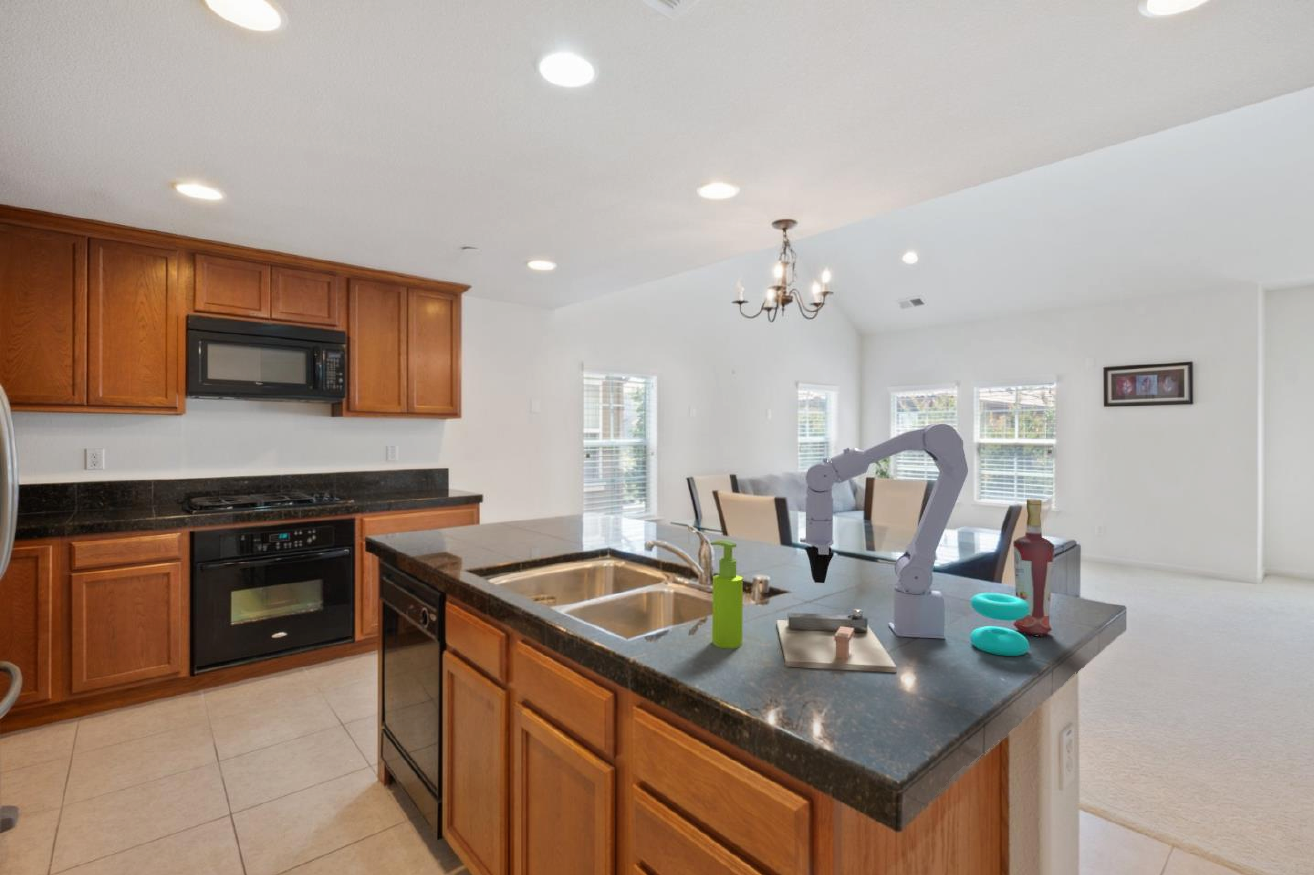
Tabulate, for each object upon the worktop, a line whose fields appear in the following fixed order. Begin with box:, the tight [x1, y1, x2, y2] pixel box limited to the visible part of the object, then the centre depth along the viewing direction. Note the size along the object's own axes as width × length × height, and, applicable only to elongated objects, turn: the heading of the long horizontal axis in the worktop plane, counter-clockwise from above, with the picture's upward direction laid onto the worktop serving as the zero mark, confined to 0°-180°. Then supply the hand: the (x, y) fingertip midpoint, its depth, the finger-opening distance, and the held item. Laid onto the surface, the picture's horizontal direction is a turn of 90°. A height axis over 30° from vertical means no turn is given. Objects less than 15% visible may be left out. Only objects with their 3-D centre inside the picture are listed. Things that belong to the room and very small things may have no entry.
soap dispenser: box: [709, 540, 744, 649], centre depth 123 cm, size 6×7×20 cm
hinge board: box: [776, 619, 897, 673], centre depth 121 cm, size 19×24×1 cm
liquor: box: [1012, 498, 1055, 637], centre depth 130 cm, size 7×7×28 cm
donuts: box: [969, 592, 1030, 657], centre depth 120 cm, size 10×10×10 cm
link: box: [787, 608, 869, 633], centre depth 128 cm, size 16×4×4 cm, turn 83°
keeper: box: [834, 626, 854, 660], centre depth 115 cm, size 6×2×4 cm, turn 153°
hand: (818, 581), depth 135 cm, fingers closed
